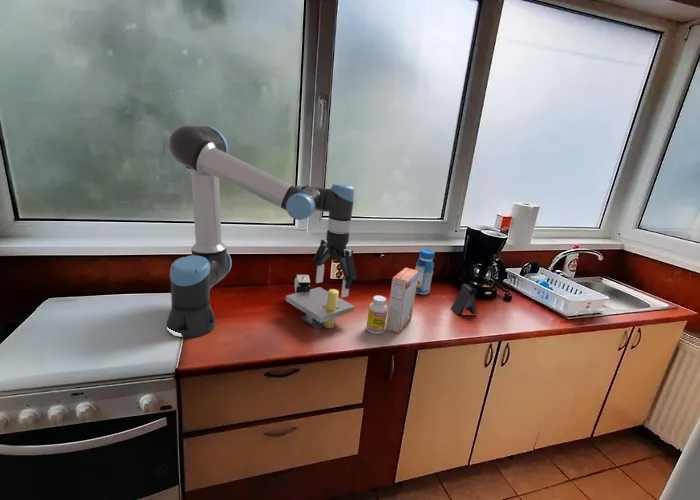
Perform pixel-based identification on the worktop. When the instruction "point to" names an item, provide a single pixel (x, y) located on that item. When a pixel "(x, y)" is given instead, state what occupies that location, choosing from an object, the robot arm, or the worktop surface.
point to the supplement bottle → (377, 315)
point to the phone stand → (465, 300)
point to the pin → (331, 306)
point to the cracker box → (401, 299)
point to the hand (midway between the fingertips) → (331, 289)
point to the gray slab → (318, 306)
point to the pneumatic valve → (302, 283)
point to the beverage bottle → (424, 271)
